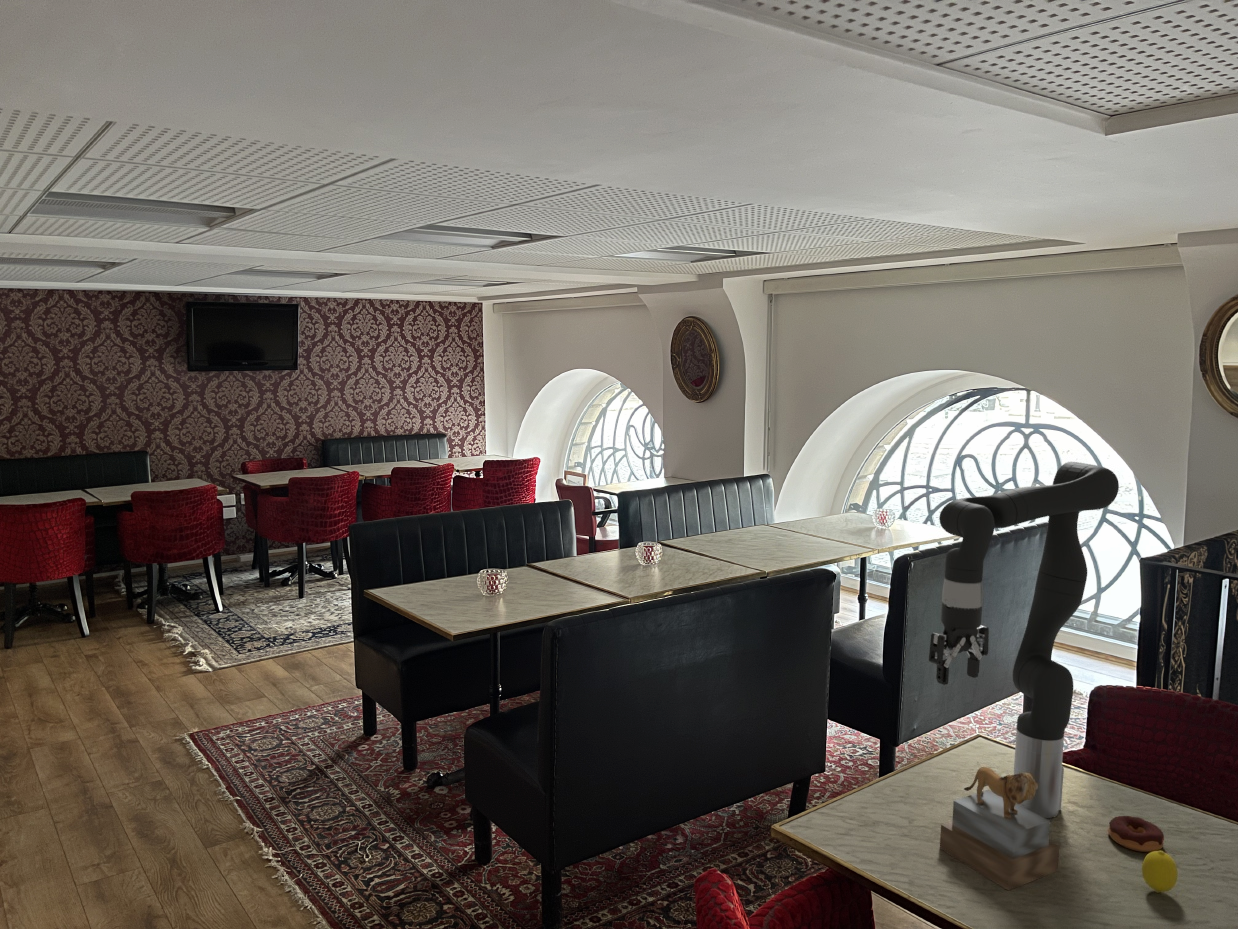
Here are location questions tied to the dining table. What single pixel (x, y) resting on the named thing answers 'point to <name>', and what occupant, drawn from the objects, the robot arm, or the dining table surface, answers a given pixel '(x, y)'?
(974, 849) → the two-tone block
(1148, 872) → the lemon
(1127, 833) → the donut
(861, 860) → the dining table surface
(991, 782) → the lion figurine
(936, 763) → the dining table surface
